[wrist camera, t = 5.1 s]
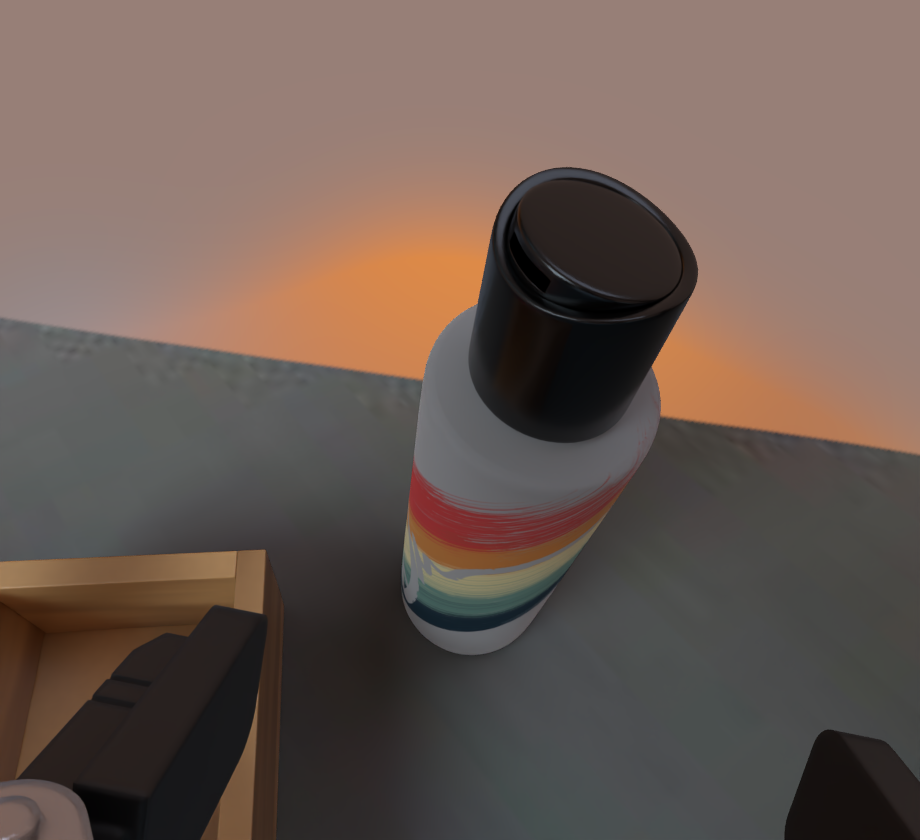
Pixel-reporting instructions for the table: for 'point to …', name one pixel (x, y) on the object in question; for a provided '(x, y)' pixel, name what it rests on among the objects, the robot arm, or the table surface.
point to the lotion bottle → (538, 403)
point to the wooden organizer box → (115, 636)
